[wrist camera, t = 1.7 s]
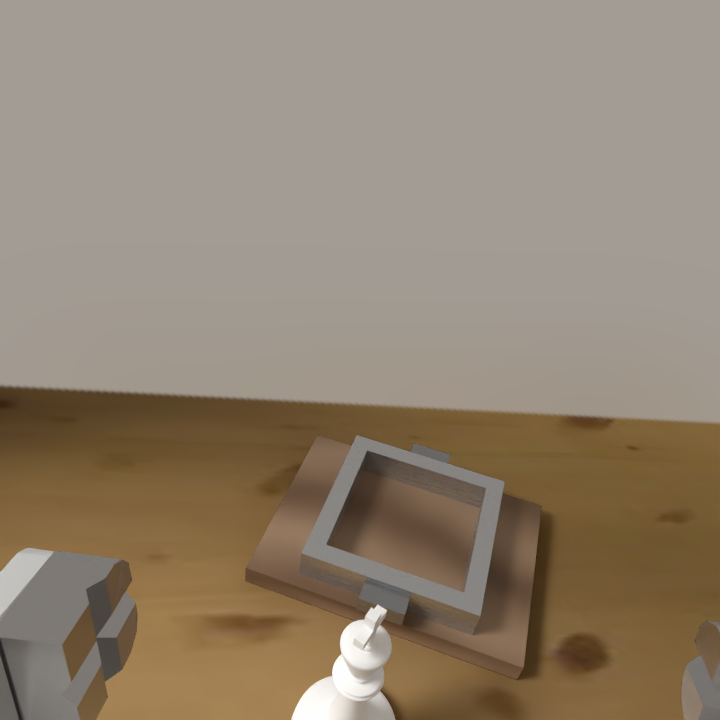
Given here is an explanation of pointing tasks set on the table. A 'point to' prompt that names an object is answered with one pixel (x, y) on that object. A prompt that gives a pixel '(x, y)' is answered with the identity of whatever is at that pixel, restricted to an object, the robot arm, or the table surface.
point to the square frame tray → (392, 584)
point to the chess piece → (353, 676)
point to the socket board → (407, 555)
